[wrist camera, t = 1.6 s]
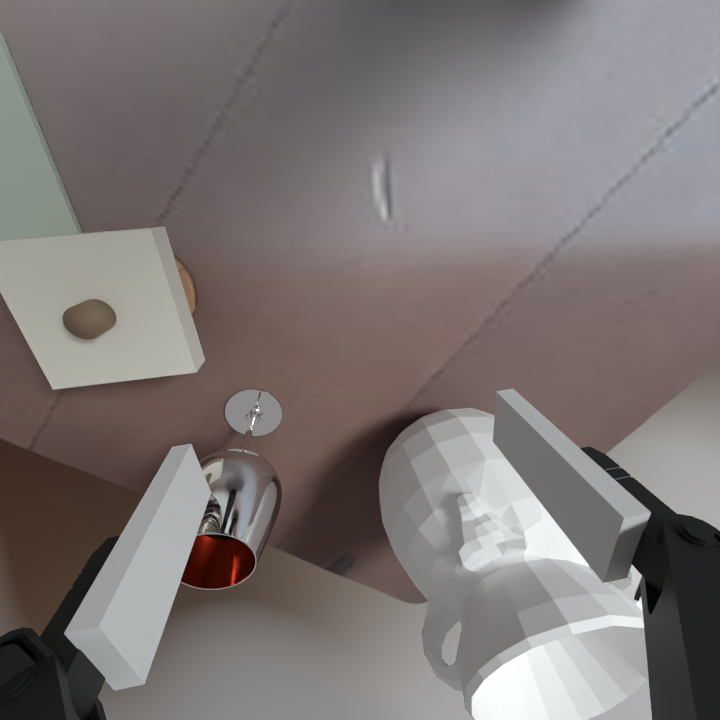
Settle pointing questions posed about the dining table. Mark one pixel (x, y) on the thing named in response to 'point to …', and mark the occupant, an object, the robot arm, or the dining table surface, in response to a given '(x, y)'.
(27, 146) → the mat
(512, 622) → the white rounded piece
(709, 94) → the dining table surface
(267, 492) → the wineglass
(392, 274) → the dining table surface
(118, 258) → the lid
